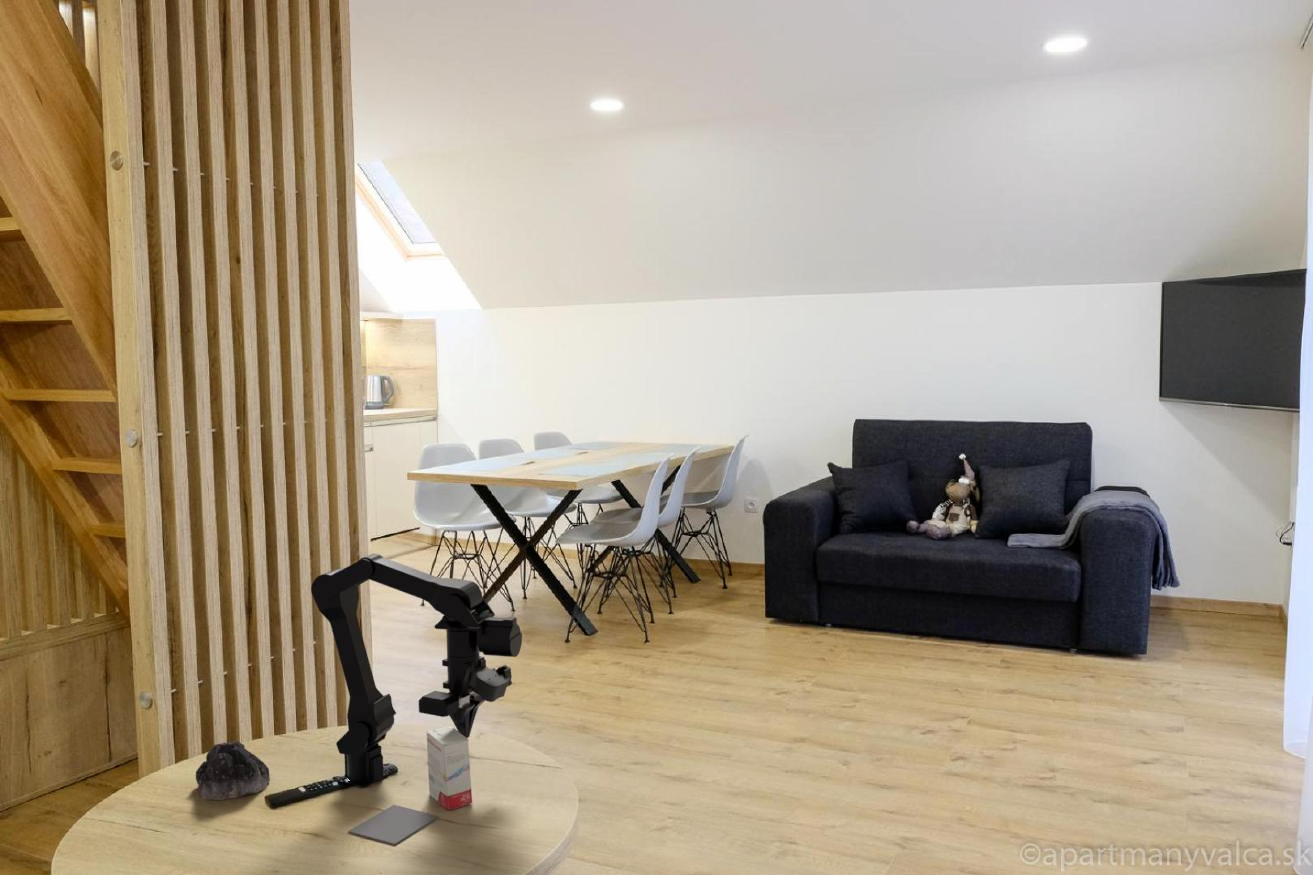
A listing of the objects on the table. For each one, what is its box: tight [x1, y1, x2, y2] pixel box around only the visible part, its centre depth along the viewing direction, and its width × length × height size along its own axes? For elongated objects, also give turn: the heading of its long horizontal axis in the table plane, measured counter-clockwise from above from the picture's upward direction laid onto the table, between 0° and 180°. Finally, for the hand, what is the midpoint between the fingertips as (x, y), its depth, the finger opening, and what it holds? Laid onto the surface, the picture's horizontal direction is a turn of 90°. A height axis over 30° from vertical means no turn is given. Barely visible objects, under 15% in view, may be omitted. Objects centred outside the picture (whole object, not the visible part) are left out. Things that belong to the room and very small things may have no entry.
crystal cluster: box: [195, 740, 271, 801], centre depth 187 cm, size 13×14×10 cm
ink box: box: [426, 725, 473, 811], centre depth 181 cm, size 9×5×12 cm, turn 33°
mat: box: [347, 804, 440, 846], centre depth 171 cm, size 10×11×1 cm
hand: (465, 737), depth 185 cm, fingers closed
